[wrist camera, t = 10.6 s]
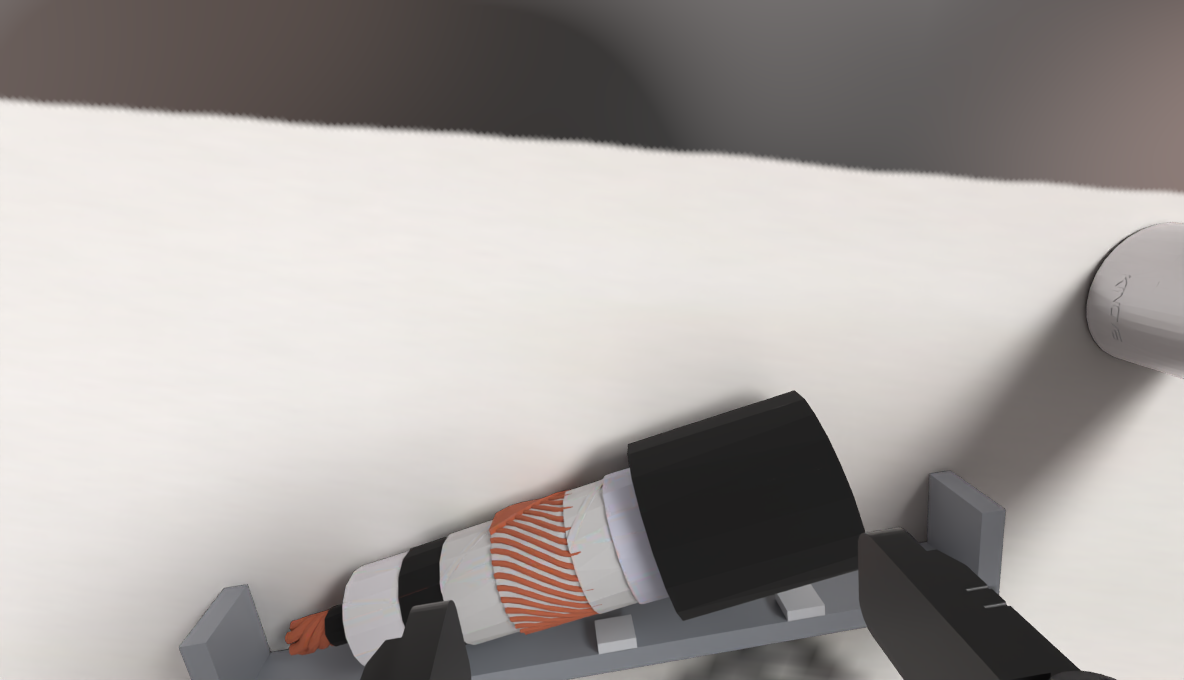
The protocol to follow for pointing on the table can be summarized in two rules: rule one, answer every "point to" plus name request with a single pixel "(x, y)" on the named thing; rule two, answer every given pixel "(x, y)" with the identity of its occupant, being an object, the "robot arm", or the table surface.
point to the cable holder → (616, 618)
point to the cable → (628, 538)
